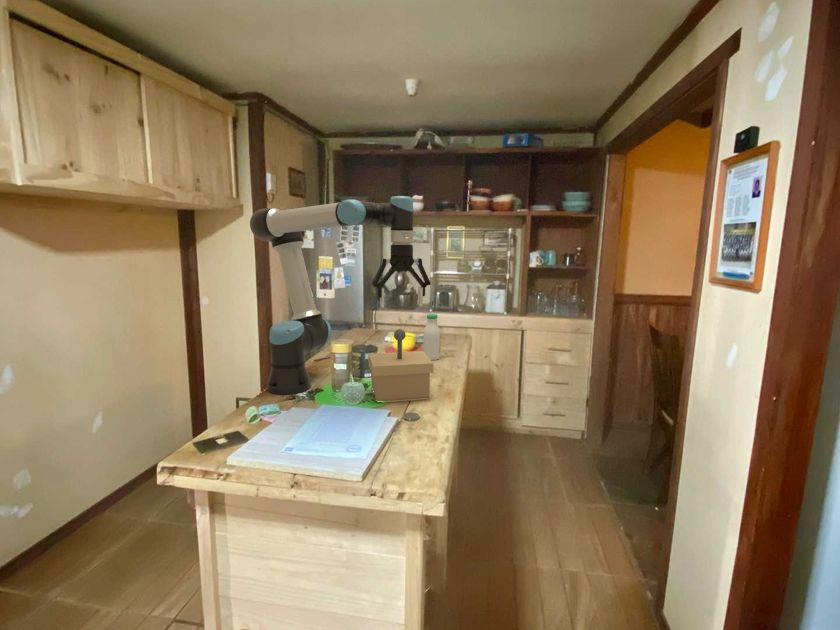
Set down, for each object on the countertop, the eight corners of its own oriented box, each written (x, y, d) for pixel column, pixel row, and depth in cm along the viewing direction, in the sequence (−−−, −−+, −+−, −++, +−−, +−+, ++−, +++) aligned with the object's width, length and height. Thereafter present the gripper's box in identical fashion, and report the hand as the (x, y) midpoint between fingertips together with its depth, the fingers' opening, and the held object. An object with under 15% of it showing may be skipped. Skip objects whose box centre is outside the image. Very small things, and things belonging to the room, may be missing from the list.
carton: (376, 402, 147) (376, 367, 144) (371, 388, 160) (371, 356, 158) (429, 399, 150) (429, 364, 148) (420, 385, 164) (420, 353, 162)
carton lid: (373, 376, 144) (373, 335, 141) (368, 362, 159) (367, 325, 157) (433, 372, 148) (434, 333, 146) (422, 359, 163) (423, 323, 161)
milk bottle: (438, 361, 196) (439, 316, 192) (421, 360, 197) (421, 315, 194) (441, 356, 203) (442, 313, 200) (424, 355, 205) (425, 312, 201)
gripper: (367, 244, 142) (367, 309, 145) (440, 244, 149) (439, 306, 153) (362, 243, 149) (363, 306, 152) (433, 243, 156) (431, 303, 160)
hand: (401, 306), depth 153 cm, fingers open, 13 cm apart
